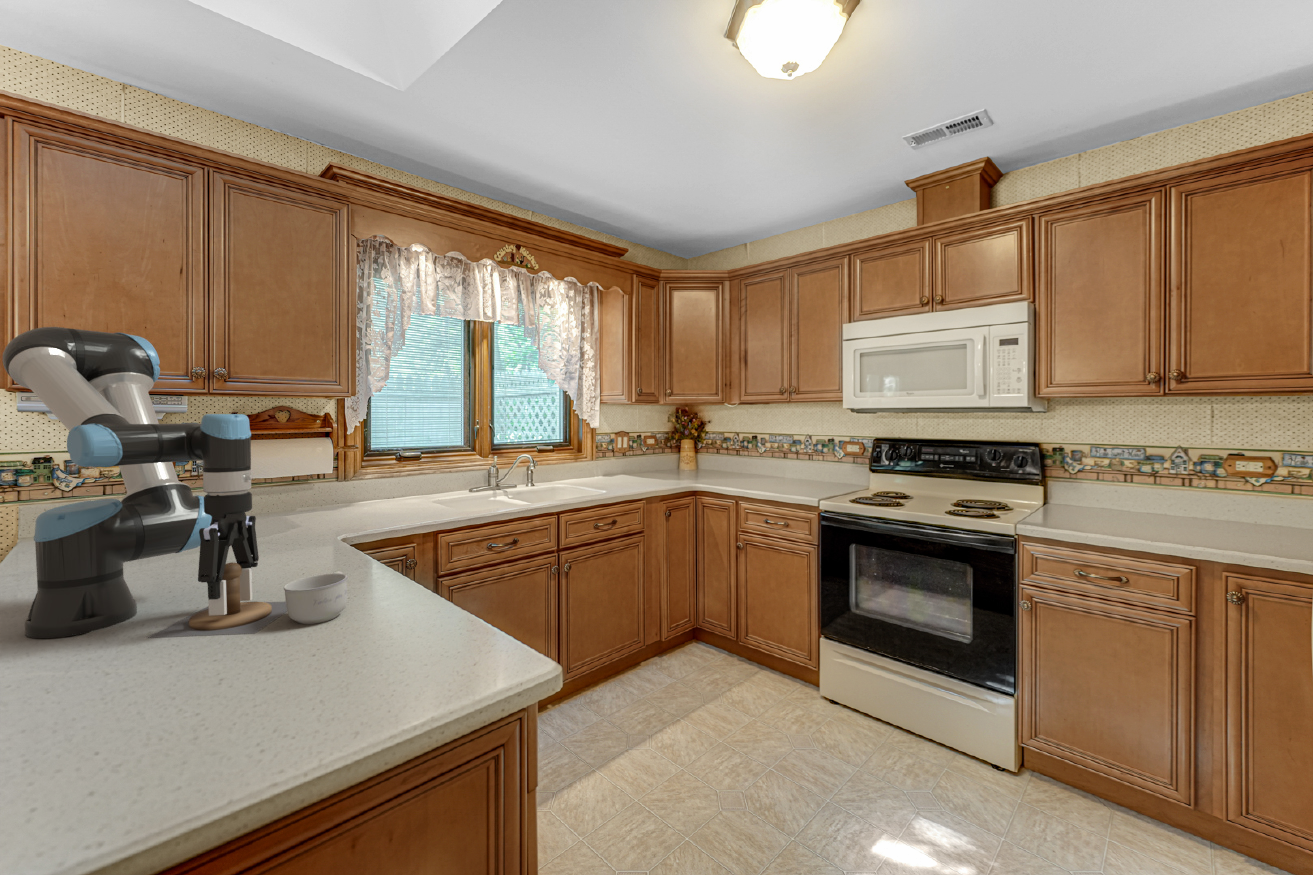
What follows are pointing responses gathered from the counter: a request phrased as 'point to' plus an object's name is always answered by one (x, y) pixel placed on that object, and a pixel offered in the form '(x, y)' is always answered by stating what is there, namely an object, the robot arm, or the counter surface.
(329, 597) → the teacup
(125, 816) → the counter surface
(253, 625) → the mat
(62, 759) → the counter surface
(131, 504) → the robot arm
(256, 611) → the lid
